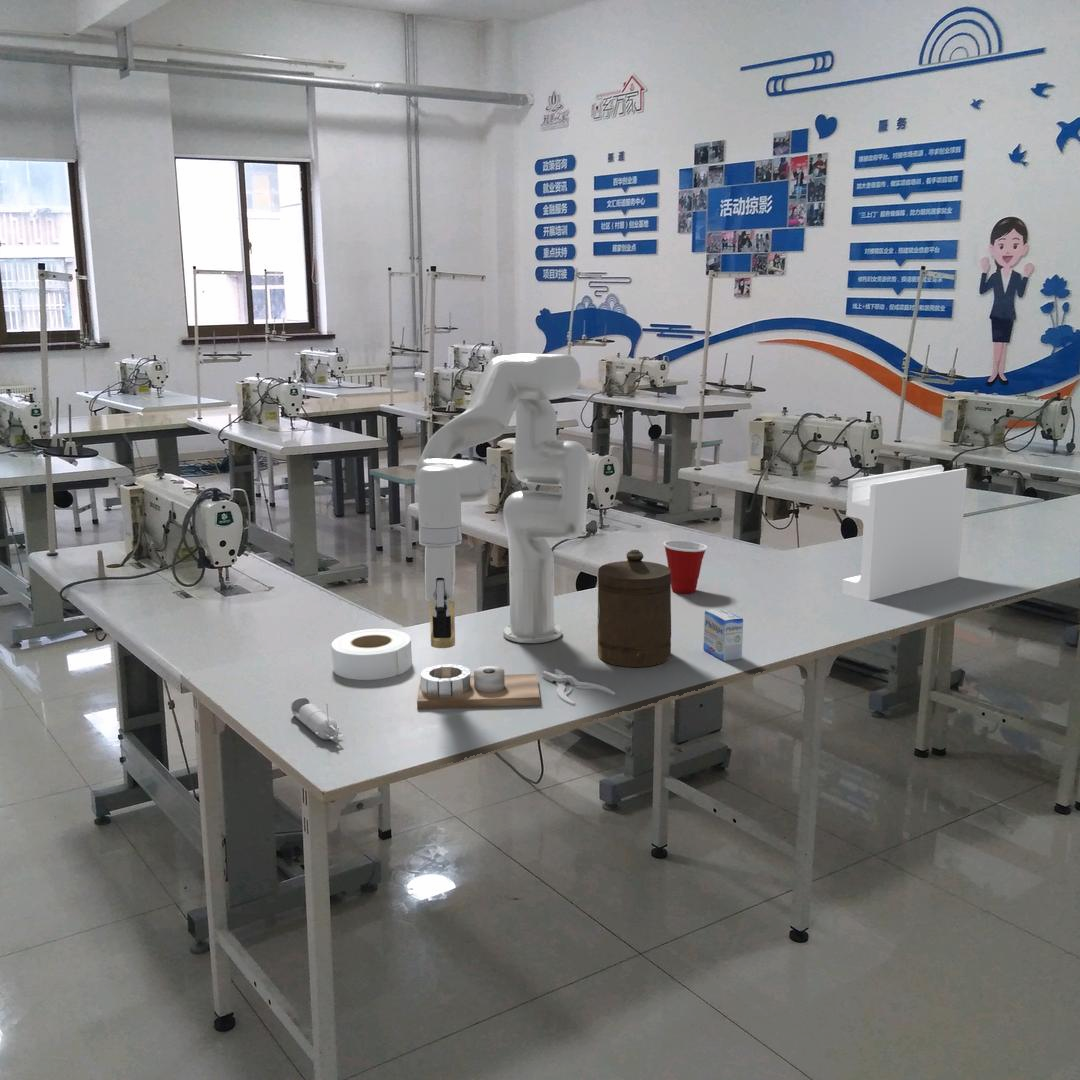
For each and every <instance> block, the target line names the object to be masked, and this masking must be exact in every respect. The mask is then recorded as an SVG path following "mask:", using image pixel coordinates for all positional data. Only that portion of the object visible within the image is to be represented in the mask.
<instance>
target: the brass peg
mask: <svg viewBox="0 0 1080 1080" xmlns="http://www.w3.org/2000/svg"><path fill="white" fill-rule="evenodd" d="M433 600H434V599H431V600H429V620H430V621H429V622H430V623H429V624H430V626H429V627H430V646H431V647H432V648H434V649H435V648H436V649H450V648H452V647H454V646H456V628H455V627H456V626H455V625H456V623H455V622H456V621H455V620H456V619H455V614H456V613H455V601H454V600H453V599H451V600H450V601H449V616H451V637H450V638H434V637H433V616H434V602H433ZM444 605H446V603H444Z"/></svg>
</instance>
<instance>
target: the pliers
mask: <svg viewBox="0 0 1080 1080" xmlns="http://www.w3.org/2000/svg"><path fill="white" fill-rule="evenodd" d="M542 679H545V681H546V680H547V681H549V682H551V683H554V682H555V685H556V686H557V688H556V695H557V696H558V698H559V699H561V700H562V701H563V702H565V703H566V704H569V705H571V706H576V702H574V701H573V700H571V699H570V698H569V697H568V695H570V694H571V693H572V687H571V686H570V687H569V690H568V691H566V684H568V683H569V684H570V685H572V686H575V689H579V690H599V691H602V692H604V693H608V694H609V695H613V696H615V695H616V692H615V691H614V690H613V689H612V690H611V689H610V688H608V687H606V686H604V685H600V684H597V683H593V682H587V681H579V680H578V679H576V678H575V677H574V676H573V675H570V674H566V672H564V671H562V670H561V669H559V668H554V673H552V672H549V671H546V670H543V671H542ZM565 691H566V692H565Z"/></svg>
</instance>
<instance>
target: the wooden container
mask: <svg viewBox="0 0 1080 1080" xmlns="http://www.w3.org/2000/svg"><path fill="white" fill-rule="evenodd" d="M626 559H627V560H621V561H612V562H609V563H606V564H603V565H601V566H599V568H598V571H597V572H598V574H597V583H598V584H597V585H598V586H597V624H596V625H597V626H596V627H597V656H598V658H599V659H600V660H601V661H603V662H605V663H608V664H610V665H614V666H618V667H624V668H645V667H646V668H647V667H652V666H653V667H654V666H657V665H661V664H663V663H665V662H667V661H669V659H671V654H672V653H671V652H672V649H671V648H672V641H671V640H672V608H671V607H672V603H671V602H672V600H671V599H672V598H671V597H672V596H671V595H672V593H671V590H672V588H671V570H670V569H669V568H668V565H664V564H661V563H657V562H652V561H643V559H644V553H643V552H642V551H640V550H639V549H631V550H629V551H628V552H627V553H626Z"/></svg>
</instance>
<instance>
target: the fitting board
mask: <svg viewBox="0 0 1080 1080" xmlns="http://www.w3.org/2000/svg"><path fill="white" fill-rule="evenodd" d="M470 681H471V689H470V690H469V691H468V692H466V693H465V694H462V695H458V696H454V697H452V696H451V697H434V696H429V695H426V694H425V693H423V692H422V691H421V678H420V679H419V685H418V692H417V698H416V706H417V710H422V709H423V710H428V709H431V710H432V709H452V708H453V709H455V708H457V709H458V708H459V709H460V708H488V707H489V708H490V707H517V706H520V707H522V706H540V705H541V696H540V689H539V683H538V676H537V673H521V674H520V673H517V674H516V673H515V674H505V669H504V668H502V667H499V666H494V665H486V666H484V665H483V666H480V667H477V668H475V669H474V670H473V675H470Z"/></svg>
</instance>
